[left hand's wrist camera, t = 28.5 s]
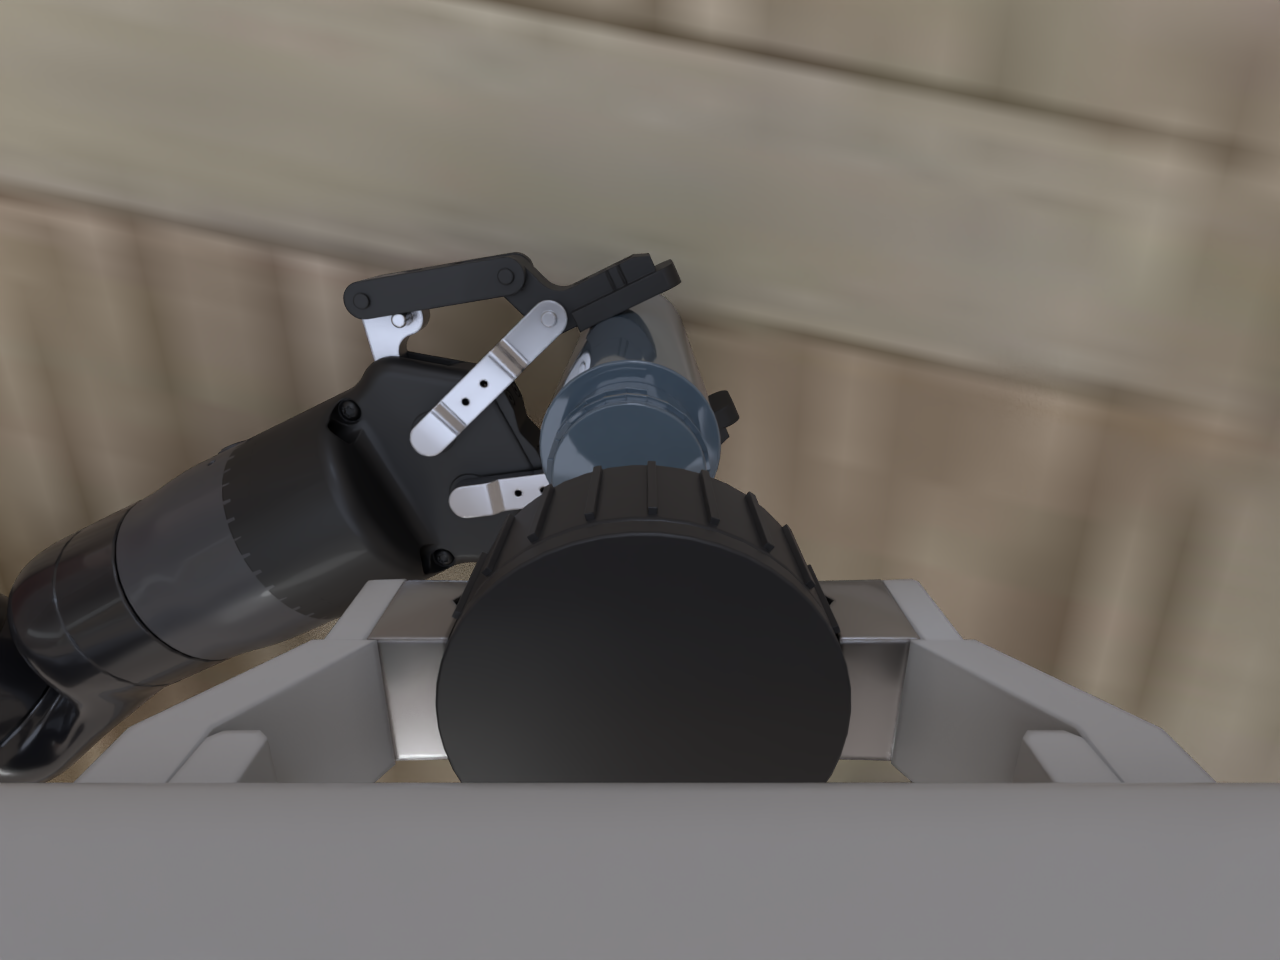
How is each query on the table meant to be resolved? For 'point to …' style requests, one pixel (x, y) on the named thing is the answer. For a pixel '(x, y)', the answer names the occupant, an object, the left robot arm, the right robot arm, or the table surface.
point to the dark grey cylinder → (630, 399)
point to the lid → (643, 642)
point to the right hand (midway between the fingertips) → (702, 339)
